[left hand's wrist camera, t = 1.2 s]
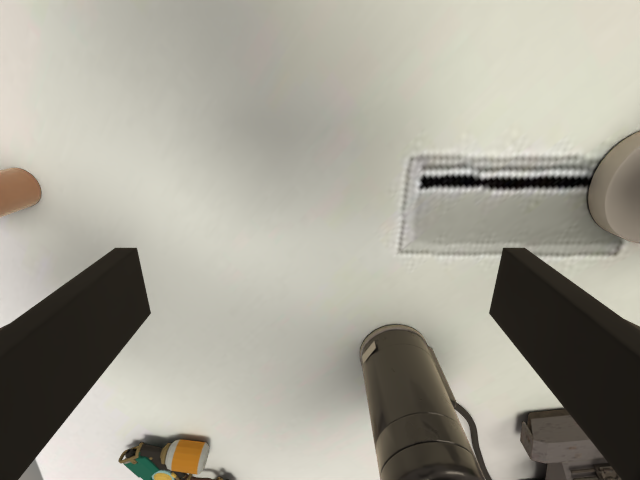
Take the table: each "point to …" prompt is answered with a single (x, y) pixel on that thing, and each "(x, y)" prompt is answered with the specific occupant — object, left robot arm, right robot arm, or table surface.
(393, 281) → the table surface
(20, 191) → the bottle
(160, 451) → the spray gun
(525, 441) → the toy
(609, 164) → the bust sculpture
